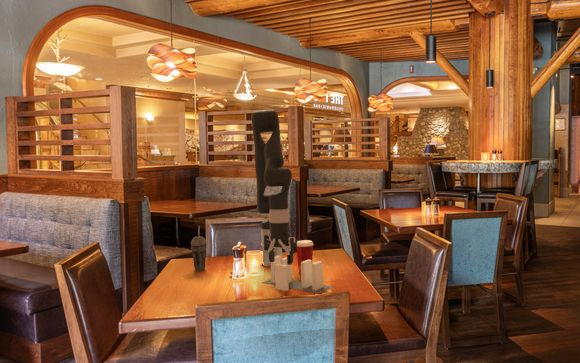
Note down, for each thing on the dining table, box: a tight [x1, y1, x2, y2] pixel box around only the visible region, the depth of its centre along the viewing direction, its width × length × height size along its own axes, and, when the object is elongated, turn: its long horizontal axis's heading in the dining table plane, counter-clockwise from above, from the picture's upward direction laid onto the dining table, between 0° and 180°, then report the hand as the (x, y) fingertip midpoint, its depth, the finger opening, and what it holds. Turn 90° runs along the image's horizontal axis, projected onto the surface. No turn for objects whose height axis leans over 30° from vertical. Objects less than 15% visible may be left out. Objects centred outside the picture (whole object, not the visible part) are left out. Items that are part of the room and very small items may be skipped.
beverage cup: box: [190, 225, 208, 272], centre depth 231 cm, size 7×7×20 cm
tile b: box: [280, 256, 293, 283], centre depth 203 cm, size 2×5×10 cm, turn 143°
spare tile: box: [275, 264, 290, 292], centre depth 194 cm, size 2×5×10 cm, turn 53°
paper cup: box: [296, 239, 314, 275], centre depth 218 cm, size 8×8×14 cm
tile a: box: [270, 256, 281, 283], centre depth 206 cm, size 2×5×10 cm, turn 143°
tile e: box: [312, 260, 324, 290], centre depth 194 cm, size 2×5×10 cm, turn 143°
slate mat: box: [261, 279, 334, 294], centre depth 200 cm, size 28×10×1 cm, turn 53°
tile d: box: [300, 259, 313, 288], centre depth 197 cm, size 2×5×10 cm, turn 143°
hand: (280, 263), depth 194 cm, fingers open, 8 cm apart
